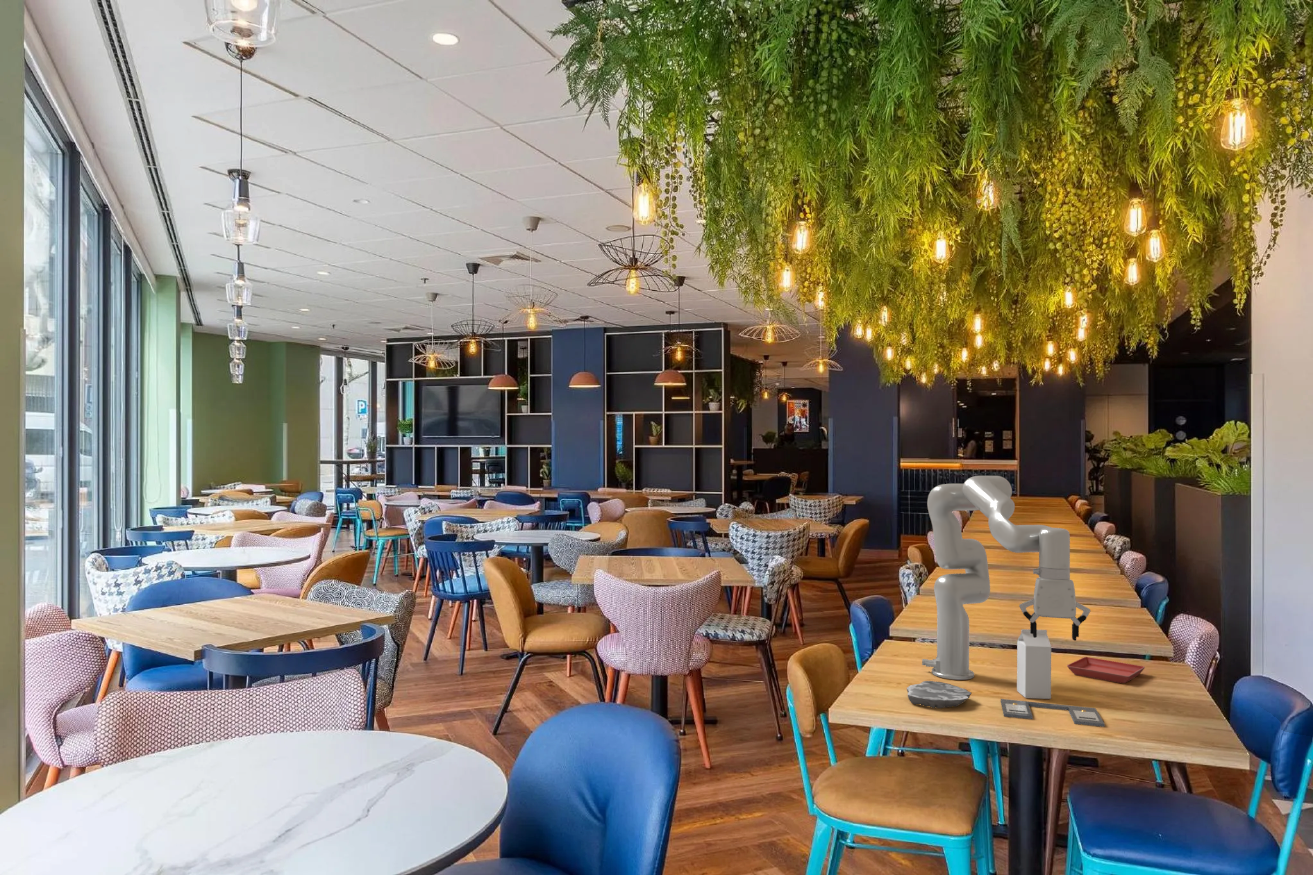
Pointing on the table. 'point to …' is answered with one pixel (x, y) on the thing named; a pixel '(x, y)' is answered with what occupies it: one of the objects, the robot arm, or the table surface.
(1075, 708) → the label panel
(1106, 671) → the plant saucer
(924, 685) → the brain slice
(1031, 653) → the milk carton
